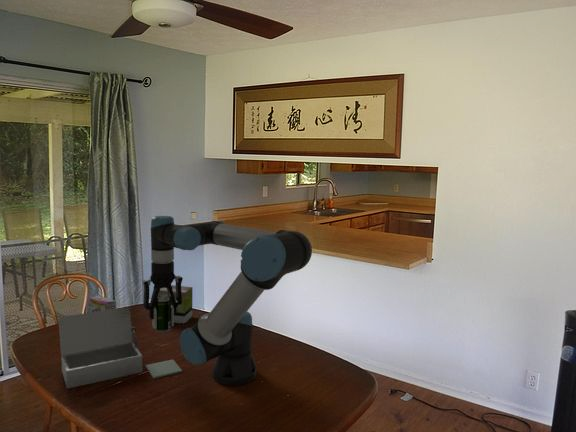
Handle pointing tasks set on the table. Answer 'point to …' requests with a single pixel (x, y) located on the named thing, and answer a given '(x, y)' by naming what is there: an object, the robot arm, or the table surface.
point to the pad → (163, 368)
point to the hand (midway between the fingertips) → (163, 325)
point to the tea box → (185, 308)
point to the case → (98, 334)
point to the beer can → (163, 313)
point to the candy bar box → (101, 304)
